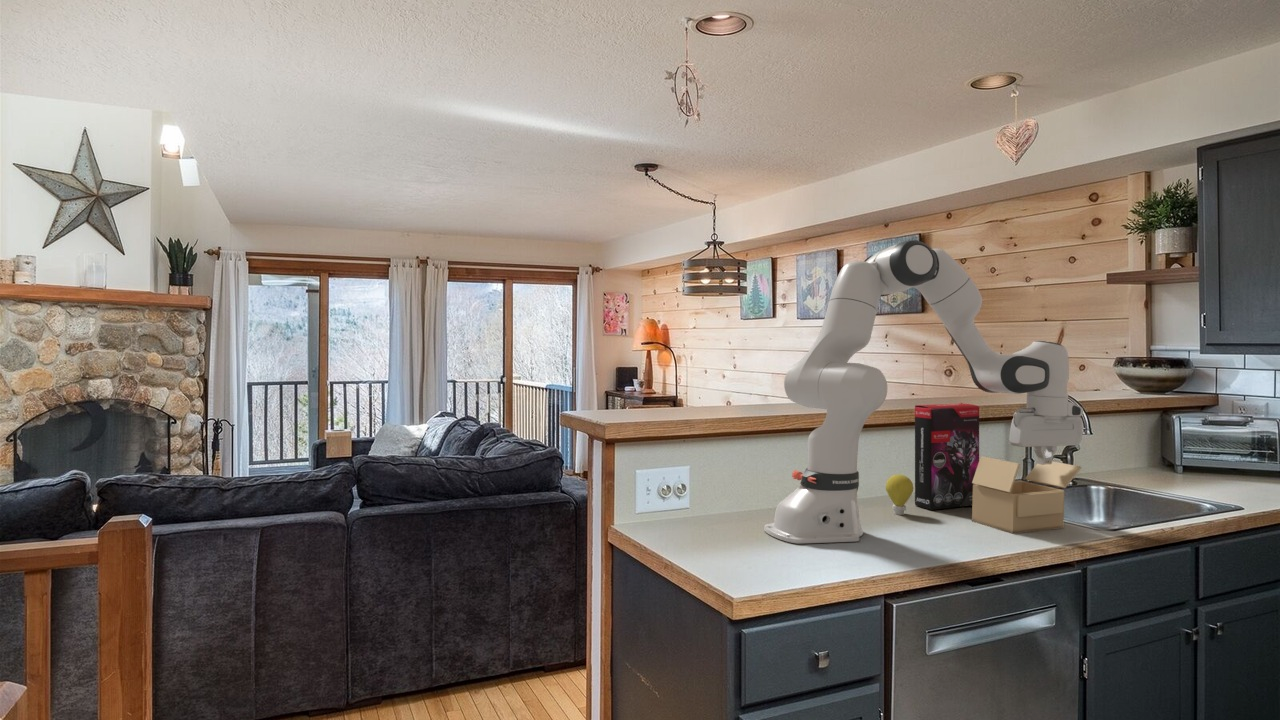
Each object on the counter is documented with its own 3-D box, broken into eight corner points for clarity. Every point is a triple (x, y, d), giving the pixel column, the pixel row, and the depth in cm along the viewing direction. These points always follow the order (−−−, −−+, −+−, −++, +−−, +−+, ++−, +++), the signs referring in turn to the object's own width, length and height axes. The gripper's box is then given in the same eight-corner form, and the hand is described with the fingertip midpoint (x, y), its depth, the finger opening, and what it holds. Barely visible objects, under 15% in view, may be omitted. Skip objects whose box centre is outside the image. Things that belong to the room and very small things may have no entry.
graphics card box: (930, 511, 188) (933, 406, 187) (911, 505, 195) (913, 404, 194) (980, 506, 195) (982, 404, 194) (959, 501, 201) (962, 402, 200)
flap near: (973, 483, 178) (982, 456, 178) (1010, 492, 167) (1020, 464, 168) (971, 482, 177) (980, 455, 178) (1009, 492, 167) (1018, 463, 168)
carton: (1015, 534, 167) (1016, 495, 166) (969, 520, 179) (970, 484, 179) (1065, 528, 172) (1066, 490, 172) (1018, 515, 185) (1019, 480, 184)
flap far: (1064, 486, 173) (1080, 466, 175) (1024, 478, 183) (1040, 459, 185) (1065, 488, 173) (1081, 468, 175) (1025, 479, 184) (1041, 460, 185)
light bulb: (901, 509, 190) (902, 471, 189) (918, 515, 183) (919, 476, 183) (879, 511, 188) (880, 472, 187) (896, 517, 181) (897, 477, 181)
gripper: (1025, 409, 171) (1023, 467, 171) (1088, 408, 178) (1086, 464, 178) (1003, 406, 177) (1001, 463, 177) (1065, 406, 184) (1063, 460, 184)
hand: (1044, 464), depth 178 cm, fingers closed
